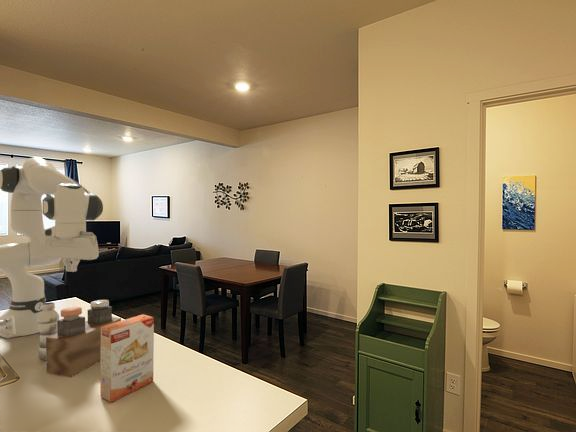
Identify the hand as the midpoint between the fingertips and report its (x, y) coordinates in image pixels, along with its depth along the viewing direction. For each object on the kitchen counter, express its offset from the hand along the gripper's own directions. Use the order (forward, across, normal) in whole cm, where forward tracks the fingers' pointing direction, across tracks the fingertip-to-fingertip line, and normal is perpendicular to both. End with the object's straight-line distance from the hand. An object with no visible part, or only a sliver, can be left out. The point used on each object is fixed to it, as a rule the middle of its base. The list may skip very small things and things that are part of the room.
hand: (71, 271), depth 113 cm
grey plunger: (+20, -1, -11) cm, 23 cm away
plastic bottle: (+33, +13, -2) cm, 36 cm away
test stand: (+33, -1, -5) cm, 33 cm away
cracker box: (+33, -29, +7) cm, 45 cm away
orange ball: (+19, -1, +1) cm, 19 cm away
